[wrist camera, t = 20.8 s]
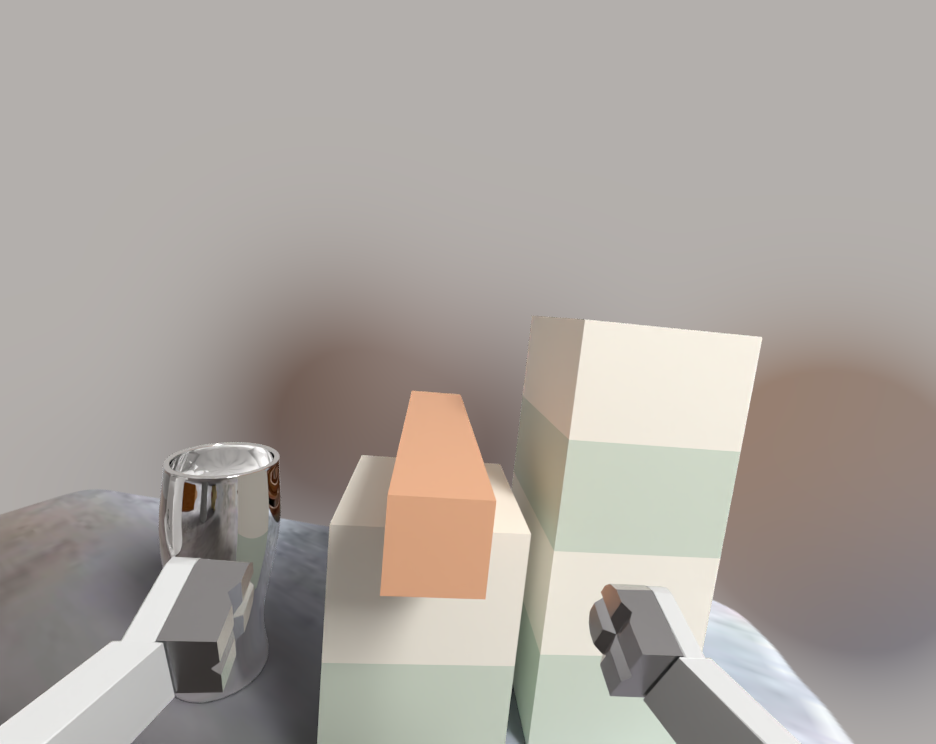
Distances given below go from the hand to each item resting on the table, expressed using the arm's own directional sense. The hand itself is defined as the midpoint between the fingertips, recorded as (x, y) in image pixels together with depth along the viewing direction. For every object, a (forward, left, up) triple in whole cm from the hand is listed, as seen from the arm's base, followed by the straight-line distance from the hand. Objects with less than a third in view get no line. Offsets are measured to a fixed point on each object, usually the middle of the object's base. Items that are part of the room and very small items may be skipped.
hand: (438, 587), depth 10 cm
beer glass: (-23, +4, -20) cm, 30 cm away
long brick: (-11, +11, -4) cm, 16 cm away
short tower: (-11, +12, -19) cm, 25 cm away
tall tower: (-5, +22, -19) cm, 30 cm away
